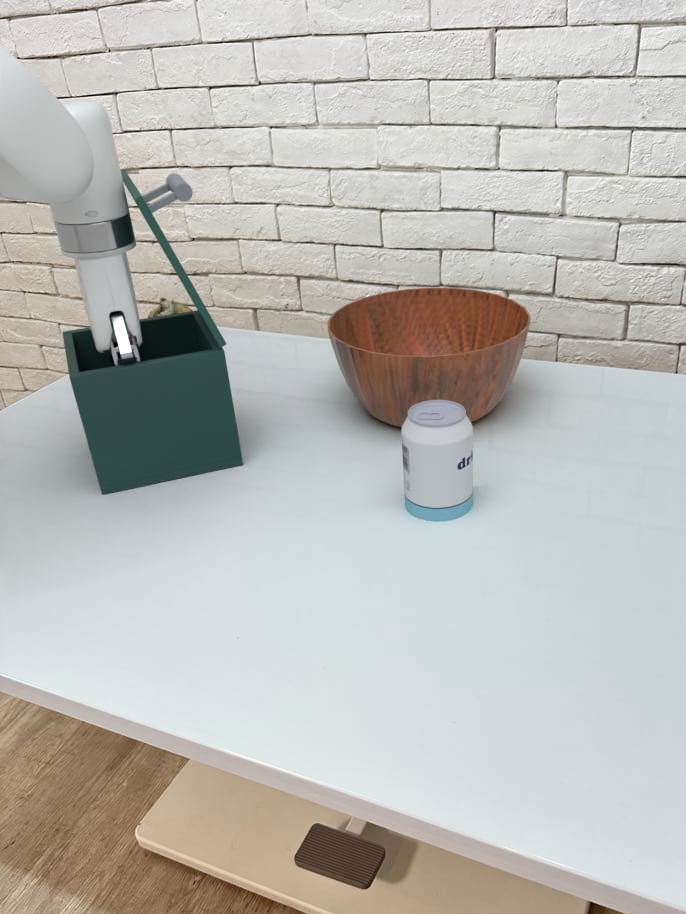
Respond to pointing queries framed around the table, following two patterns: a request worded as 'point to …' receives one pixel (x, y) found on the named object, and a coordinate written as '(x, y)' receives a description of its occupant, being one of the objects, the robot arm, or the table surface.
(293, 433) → the table surface
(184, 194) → the lid
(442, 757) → the table surface
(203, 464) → the cooler
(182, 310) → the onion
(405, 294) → the bowl
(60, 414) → the table surface
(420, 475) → the beverage can
